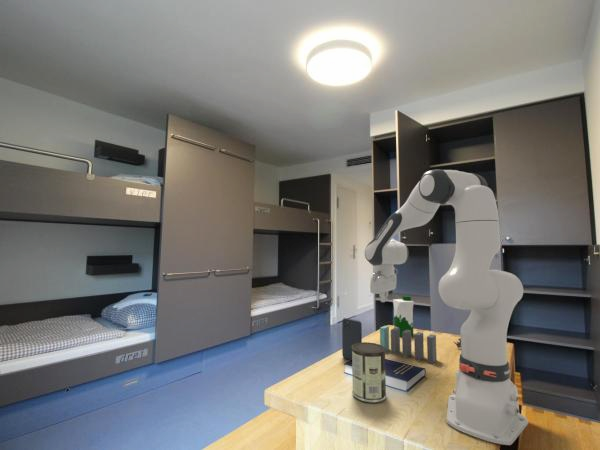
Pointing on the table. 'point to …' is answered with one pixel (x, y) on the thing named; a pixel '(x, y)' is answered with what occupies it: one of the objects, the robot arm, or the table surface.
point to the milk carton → (403, 314)
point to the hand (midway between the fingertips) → (383, 301)
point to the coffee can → (368, 372)
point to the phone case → (350, 336)
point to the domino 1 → (384, 337)
